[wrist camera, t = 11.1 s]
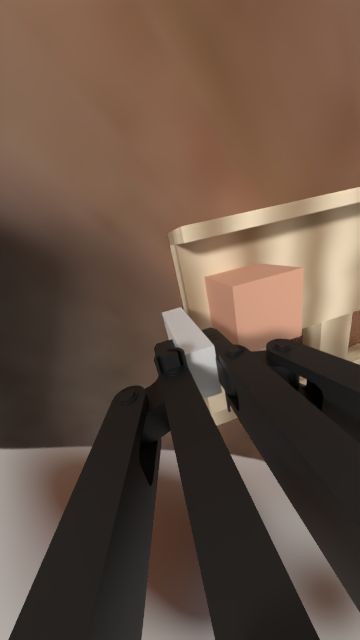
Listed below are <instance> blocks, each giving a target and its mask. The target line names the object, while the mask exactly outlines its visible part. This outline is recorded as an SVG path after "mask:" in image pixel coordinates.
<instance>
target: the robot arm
mask: <svg viewBox="0 0 360 640" xmlns="http://www.w3.org/2000/svg"><path fill="white" fill-rule="evenodd" d="M162 315H163V319H164V323H165V327H166V331H167V335H168V338H169V340H168V341H165V342H161V343H158V344H156V346H155V348H154V351H155V358H154V361H155V365H156V368H157V371H158V374H159V377H158V379H157V380H156V381H155V382H154V383H153V384H152V385H151V386H149V387H147V388H146V389H144V388H143V387H141V386H130V387H127V388H125V389H123V390H121V391H120V392H119V393H118V394H117V395H116V396H115V397H114V399H113V401H112V403H111V405H110V407H109V410H108V412H107V414H106V417H105V419H104V421H103V424H102V426H101V428H100V430H99V433H98V435H97V437H96V440H95V442H94V444H93V447H92V449H91V451H90V454H89V456H88V458H87V460H86V463H85V465H84V467H83V470H82V472H81V474H80V476H79V479H78V481H77V483H76V486H75V488H74V490H73V492H72V495H71V497H70V499H69V502H68V504H67V506H66V509H65V511H64V513H63V515H62V518H61V520H60V522H59V525H58V527H57V529H56V532H55V534H54V536H53V539H52V541H51V543H50V545H49V548H48V550H47V552H46V555H45V557H44V559H43V561H42V564H41V566H40V568H39V571H38V573H37V575H36V578H35V580H34V582H33V584H32V587H31V589H30V591H29V594H28V596H27V598H26V601H25V603H24V605H23V608H22V610H21V612H20V614H19V617H18V619H17V621H16V624H15V626H14V628H13V631H12V633H11V635H10V637H9V640H141V637H142V627H143V617H144V608H145V597H146V588H147V578H148V568H149V558H150V549H151V539H152V529H153V519H154V510H155V509H154V508H155V500H156V490H157V480H158V470H159V460H160V451H161V437H162V436H164V435H165V434H167V433H168V432H169V431H171V435H172V439H173V444H174V449H175V453H176V457H177V463H178V467H179V472H180V477H181V481H182V486H183V491H184V495H185V500H186V505H187V510H188V514H189V519H190V524H191V528H192V533H193V538H194V542H195V547H196V552H197V556H198V561H199V566H200V570H201V575H202V580H203V584H204V589H205V593H206V598H207V603H208V608H209V613H210V616H211V622H212V627H213V631H214V636H215V640H320V639H319V637H318V635H317V633H316V631H315V629H314V627H313V625H312V623H311V620H310V619H309V617H308V614H307V612H306V610H305V608H304V606H303V604H302V602H301V600H300V598H299V596H298V594H297V592H296V590H295V588H294V585H293V583H292V581H291V579H290V577H289V575H288V573H287V571H286V569H285V567H284V565H283V563H282V561H281V558H280V556H279V554H278V552H277V550H276V548H275V546H274V544H273V542H272V540H271V538H270V536H269V534H268V531H267V529H266V527H265V525H264V523H263V521H262V519H261V517H260V515H259V513H258V511H257V509H256V507H255V505H254V503H253V500H252V498H251V496H250V494H249V492H248V490H247V488H246V486H245V484H244V482H243V480H242V478H241V476H240V474H239V471H238V470H237V468H236V466H235V463H234V461H233V459H232V457H231V455H230V453H229V451H228V449H227V447H226V445H225V442H224V440H223V438H222V436H221V434H220V432H219V430H218V428H217V426H216V424H215V422H214V420H213V418H212V416H211V414H210V411H209V409H208V407H207V405H206V403H205V401H204V399H206V398H209V397H212V396H214V395H217V394H220V393H222V390H221V386H222V387H223V389H224V390H225V396H226V402H227V409H228V412H231V409H230V406H231V408H232V409H233V411H234V413H235V414H236V416H237V417H238V419H239V421H240V422H241V424H242V425H243V427H244V428H245V430H246V432H247V433H248V435H249V436H250V438H251V440H252V441H253V443H254V444H255V446H256V448H257V449H258V451H259V452H260V454H261V456H262V457H263V459H264V460H265V462H266V463H267V465H268V467H269V468H270V470H271V471H272V473H273V475H274V476H275V478H276V479H277V481H278V483H279V484H280V486H281V487H282V489H283V491H284V492H285V494H286V495H287V497H288V499H289V500H290V502H291V503H292V505H293V507H294V508H295V510H296V511H297V513H298V514H299V516H300V518H301V519H302V521H303V523H304V524H305V526H306V527H307V529H308V530H309V532H310V534H311V535H312V537H313V538H314V540H315V542H316V543H317V545H318V546H319V548H320V550H321V551H322V553H323V554H324V556H325V558H326V559H327V561H328V562H329V564H330V566H331V567H332V569H333V570H334V572H335V574H336V575H337V577H338V578H339V580H340V581H341V583H342V585H343V586H344V588H345V589H346V591H347V593H348V594H349V596H350V597H351V599H352V601H353V602H354V603H355V605H356V607H357V609H358V610H359V612H360V365H359V364H356V363H354V362H351V361H348V360H345V359H342V358H340V357H337V356H334V355H331V354H329V353H326V352H323V351H320V350H318V349H315V348H312V347H309V346H307V345H304V344H301V343H298V342H295V341H293V340H289V339H274V340H271V341H269V342H268V343H267V344H266V350H263V351H252V352H251V351H250V350H249V349H247V348H246V347H244V346H242V345H233V344H232V343H231V342H230V341H229V340H228V339H227V338H226V337H225V336H224V335H223V334H221V333H220V332H219V331H218V330H217V329H214V328H211V327H210V328H206V329H203V330H200V329H199V328H198V326H197V325H196V324H195V323H194V322H193V321H192V319H191V318H190V317H189V316H188V315H187V314H186V312H185V311H184V310H183V309H182V308H181V307H180V308H176V309H173V310H169V311H165V312H162ZM300 376H301V377H303V378H305V379H307V384H306V385H304V384H301V383H299V377H300Z"/></svg>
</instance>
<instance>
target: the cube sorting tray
mask: <svg viewBox="0 0 360 640" xmlns="http://www.w3.org/2000/svg"><path fill="white" fill-rule="evenodd" d="M167 234H168V238H169V243H170V247H171V252H172V257H173V261H174V266H175V270H176V275H177V280H178V284H179V289H180V293H181V298H182V302H183V307H184V311H185V312H186V314H187V315H188V316H189V317H190V318H191V319H192V321H193V322H194V323H195V324H196V325H197V326H198V328H199V329H200V330H203V329H206V328H210V327H211V328H212V323H211V317H210V311H209V305H208V298H207V292H206V286H205V279H204V277H206V276H210V275H213V274H217V273H221V272H225V271H229V270H233V269H237V268H241V267H245V266H249V265H252V264H256V263H260V264H271V265H282V266H293V267H303V268H304V270H303V303H302V329H303V341H302V344H304V345H307V346H309V347H312V348H315V349H318V350H320V351H323V352H326V353H329V354H331V355H334V356H337V357H340V358H342V359H345V360H348V361H351V362H354V363H356V364H359V365H360V343H358V344H355V345H353V346H350V347H348V344H349V336H350V328H351V321H352V313H353V312H355V311H358V310H360V187H358V188H353V189H349V190H344V191H340V192H335V193H331V194H326V195H322V196H317V197H313V198H308V199H304V200H299V201H295V202H290V203H286V204H281V205H277V206H272V207H268V208H263V209H258V210H254V211H249V212H245V213H240V214H236V215H231V216H227V217H222V218H218V219H213V220H209V221H204V222H200V223H195V224H191V225H186V226H182V227H179V228H177V229H175V230H173V231H171V232H169V233H167ZM263 350H266V348H263V349H260V350H257V351H263ZM299 383H301V384H304V385H306V384H307V379H305V378H303V377H301V376H300V377H299ZM221 390H222V393H220V394H217V395H214V396H212V397H209V398H206V399H204V401H205V403H206V405H207V407H208V409H209V411H210V414H211V416H212V418H213V420H214V422H215V424H216V426H218V425H220V424H223V423H226V422H228V421H231V420H233V419H236V418H238V417H237V416H236V414H235V413H234V411H233V409H232V408H231V406H230V409H231V412H228V409H227V402H226V396H225V390H224V389H223V387H222V386H221Z"/></svg>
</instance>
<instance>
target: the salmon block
mask: <svg viewBox="0 0 360 640" xmlns="http://www.w3.org/2000/svg"><path fill="white" fill-rule="evenodd" d="M303 270H304V268H303V267H293V266H282V265H271V264H260V263H256V264H252V265H249V266H245V267H241V268H237V269H233V270H229V271H225V272H221V273H217V274H213V275H210V276H206V277H204V279H205V286H206V292H207V298H208V305H209V311H210V317H211V323H212V328H214V329H217V330H218V331H219V332H220V333H221V334H223V335H224V336H225V337H226V338H227V339H228V340H229V341H230V342H231V343H232V344H233V345H242V346H244V347H246V348H247V349H249V350H250V351H251V352H252V351H257V350H260V349H263V348H266V344H267V343H268V342H269V341H271V340H274V339H289V340H290V339H293V338H296V337H300V336H302V303H303Z"/></svg>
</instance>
